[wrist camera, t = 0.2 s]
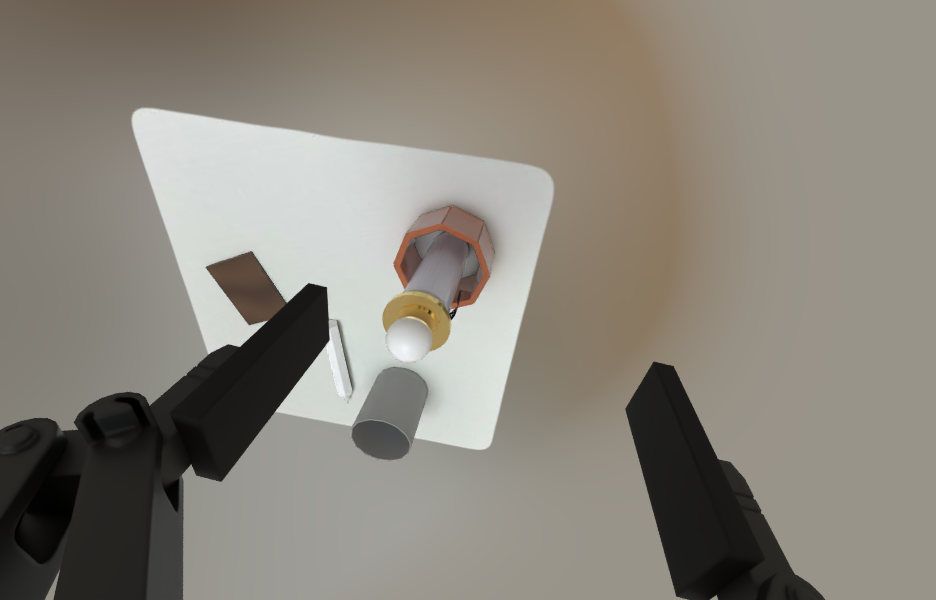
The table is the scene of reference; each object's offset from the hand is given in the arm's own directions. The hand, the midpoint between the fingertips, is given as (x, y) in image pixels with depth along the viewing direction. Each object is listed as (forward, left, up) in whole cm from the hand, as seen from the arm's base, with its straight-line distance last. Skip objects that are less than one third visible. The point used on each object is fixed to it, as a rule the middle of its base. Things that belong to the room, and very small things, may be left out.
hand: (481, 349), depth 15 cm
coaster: (+3, -39, -29) cm, 48 cm away
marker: (+19, -32, -29) cm, 47 cm away
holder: (+5, -9, -29) cm, 30 cm away
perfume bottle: (+5, -9, -29) cm, 31 cm away
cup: (+25, -25, -29) cm, 46 cm away
